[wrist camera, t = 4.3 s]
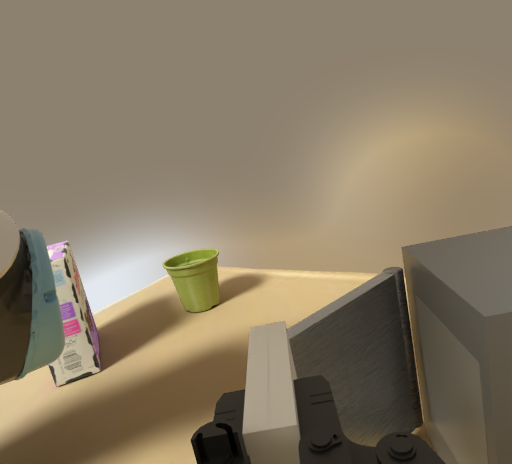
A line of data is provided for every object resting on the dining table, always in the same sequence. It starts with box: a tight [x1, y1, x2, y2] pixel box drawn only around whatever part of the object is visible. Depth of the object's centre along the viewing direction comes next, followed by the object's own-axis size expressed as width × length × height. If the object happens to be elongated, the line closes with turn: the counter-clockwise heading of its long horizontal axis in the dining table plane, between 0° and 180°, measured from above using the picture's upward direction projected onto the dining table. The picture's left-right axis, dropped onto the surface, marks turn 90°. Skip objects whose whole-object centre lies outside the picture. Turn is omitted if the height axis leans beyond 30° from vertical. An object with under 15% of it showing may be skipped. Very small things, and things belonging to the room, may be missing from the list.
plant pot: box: [163, 249, 220, 312], centre depth 71 cm, size 9×9×9 cm
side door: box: [287, 267, 423, 447], centre depth 29 cm, size 13×2×13 cm, turn 129°
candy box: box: [47, 241, 101, 387], centre depth 60 cm, size 14×6×16 cm, turn 22°
